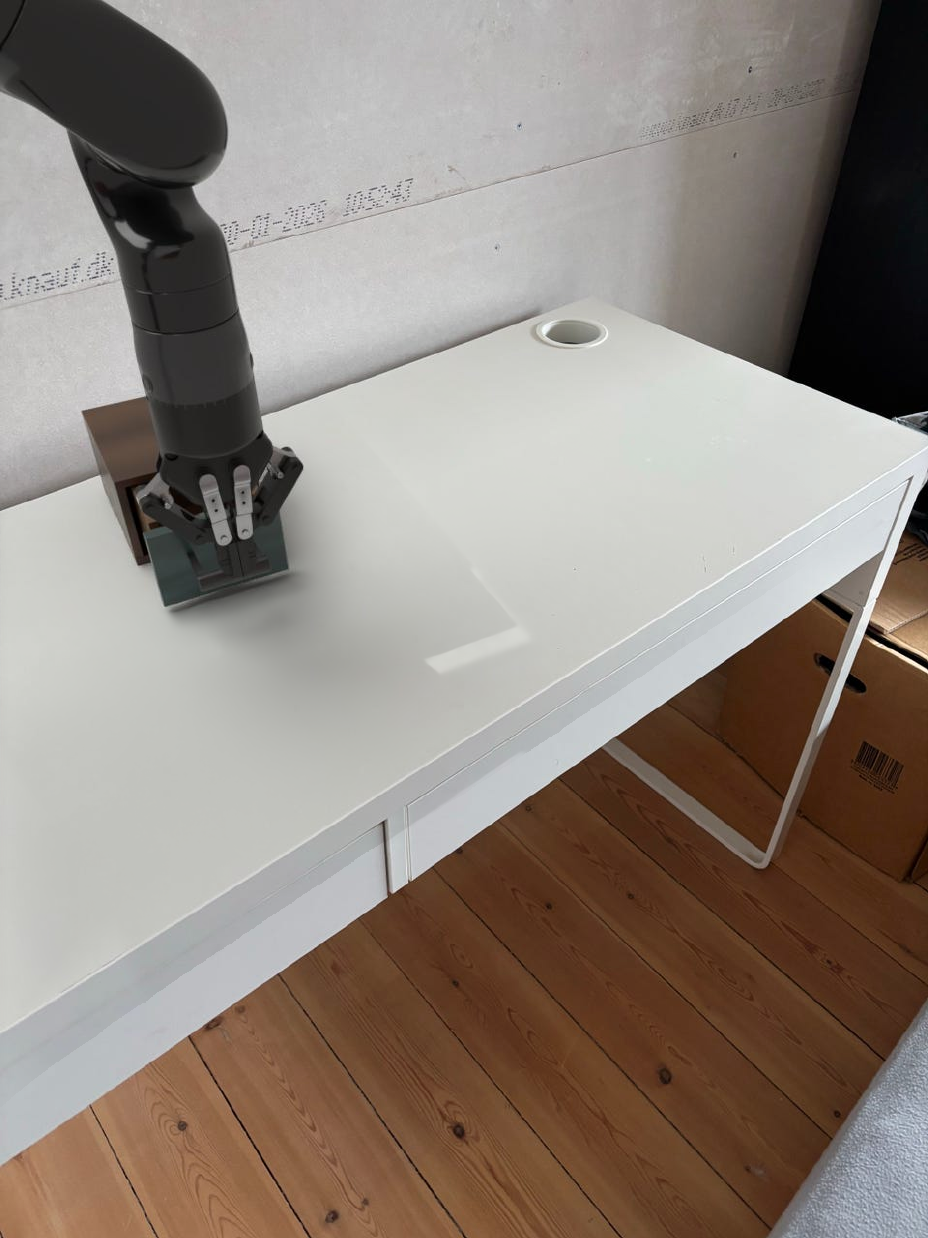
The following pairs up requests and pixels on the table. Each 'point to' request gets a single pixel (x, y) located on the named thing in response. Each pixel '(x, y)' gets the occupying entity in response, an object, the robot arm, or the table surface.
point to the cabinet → (124, 459)
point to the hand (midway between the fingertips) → (239, 572)
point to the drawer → (201, 554)
